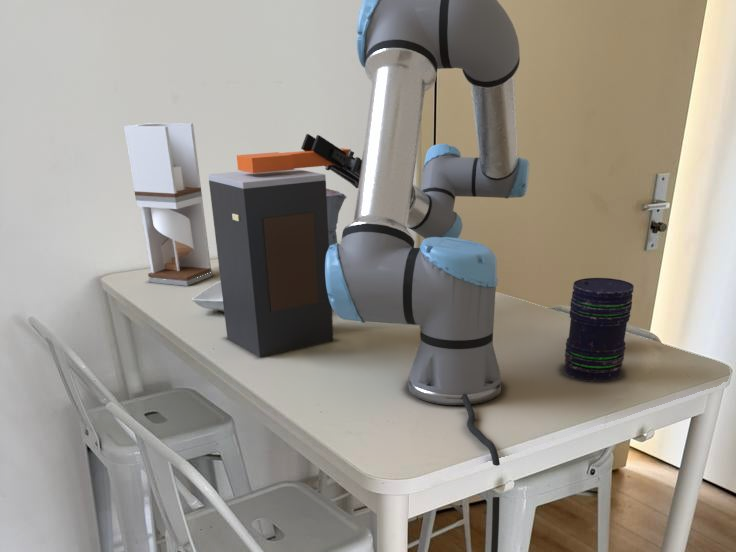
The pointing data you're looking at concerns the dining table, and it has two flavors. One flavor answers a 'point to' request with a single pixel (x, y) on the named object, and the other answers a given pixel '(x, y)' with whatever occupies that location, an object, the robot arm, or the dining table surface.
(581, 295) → the dark blue cylinder
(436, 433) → the dining table surface
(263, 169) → the key
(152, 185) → the white tall stand
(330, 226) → the moka pot
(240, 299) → the tall dark grey cabinet
